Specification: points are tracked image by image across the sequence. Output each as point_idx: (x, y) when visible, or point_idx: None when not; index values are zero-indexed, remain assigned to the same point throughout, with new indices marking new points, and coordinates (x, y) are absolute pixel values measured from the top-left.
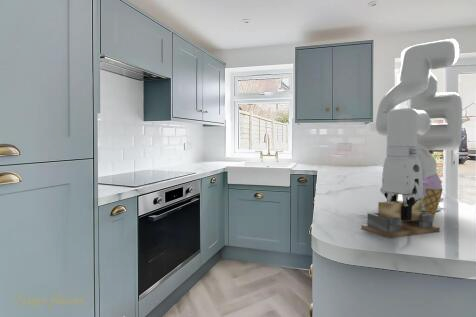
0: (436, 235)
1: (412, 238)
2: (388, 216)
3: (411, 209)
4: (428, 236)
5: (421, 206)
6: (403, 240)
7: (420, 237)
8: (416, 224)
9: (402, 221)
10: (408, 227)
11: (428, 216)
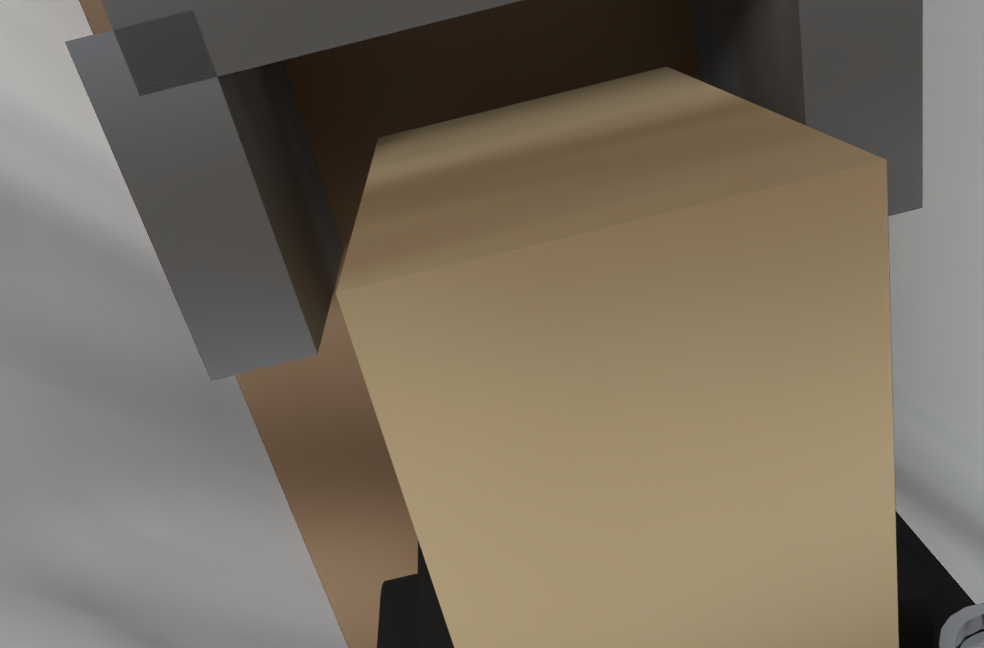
0: (976, 29)
1: (956, 465)
2: None
3: (954, 589)
4: (968, 202)
5: (800, 123)
6: (975, 593)
7: (961, 345)
8: (505, 56)
9: (344, 257)
10: None
11: (900, 12)
